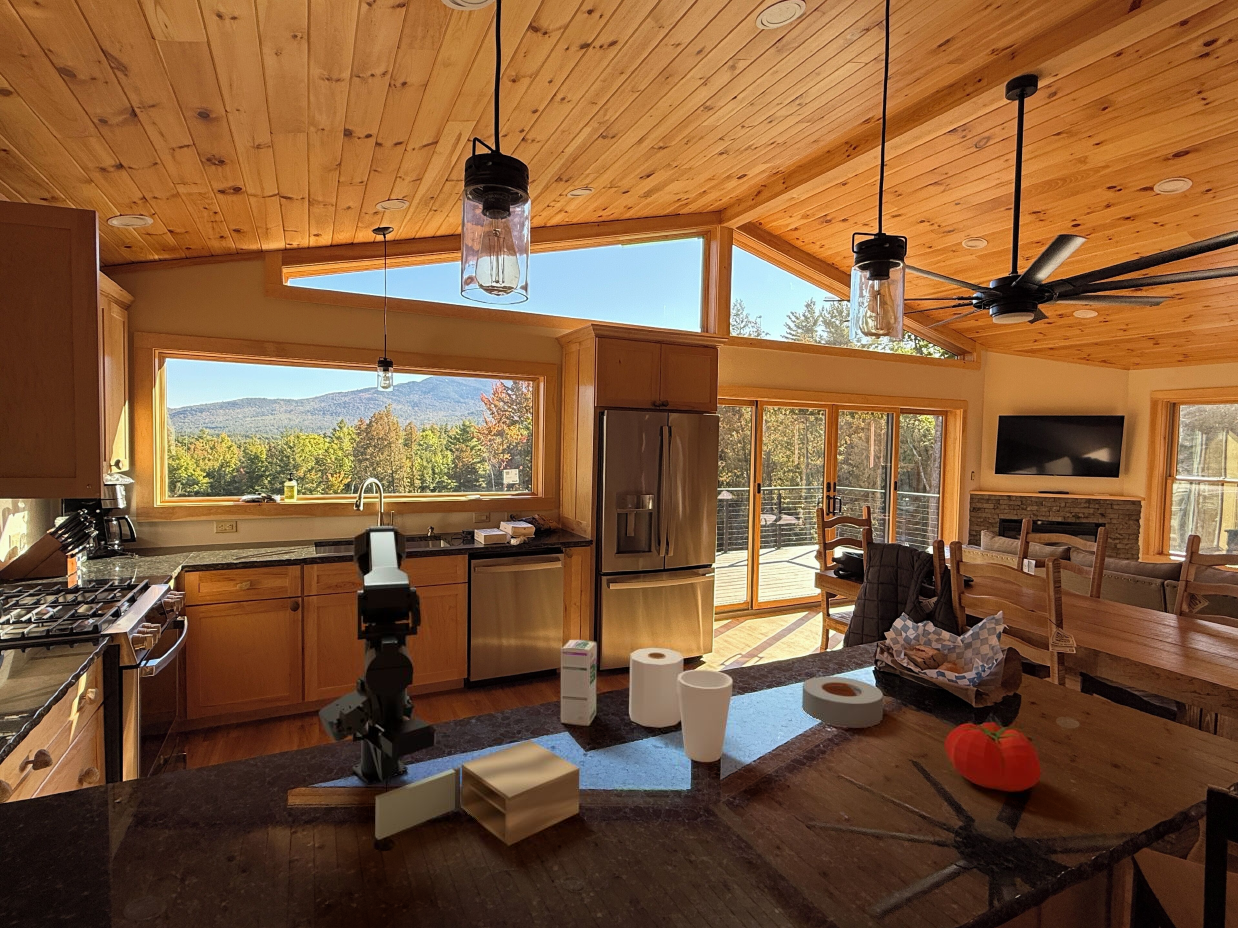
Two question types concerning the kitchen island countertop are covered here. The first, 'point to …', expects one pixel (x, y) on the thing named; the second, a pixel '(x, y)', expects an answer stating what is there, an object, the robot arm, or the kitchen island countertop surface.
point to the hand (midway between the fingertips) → (384, 779)
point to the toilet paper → (655, 687)
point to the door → (417, 802)
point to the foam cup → (704, 712)
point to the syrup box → (578, 682)
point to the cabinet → (519, 790)
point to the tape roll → (842, 701)
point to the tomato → (993, 757)
